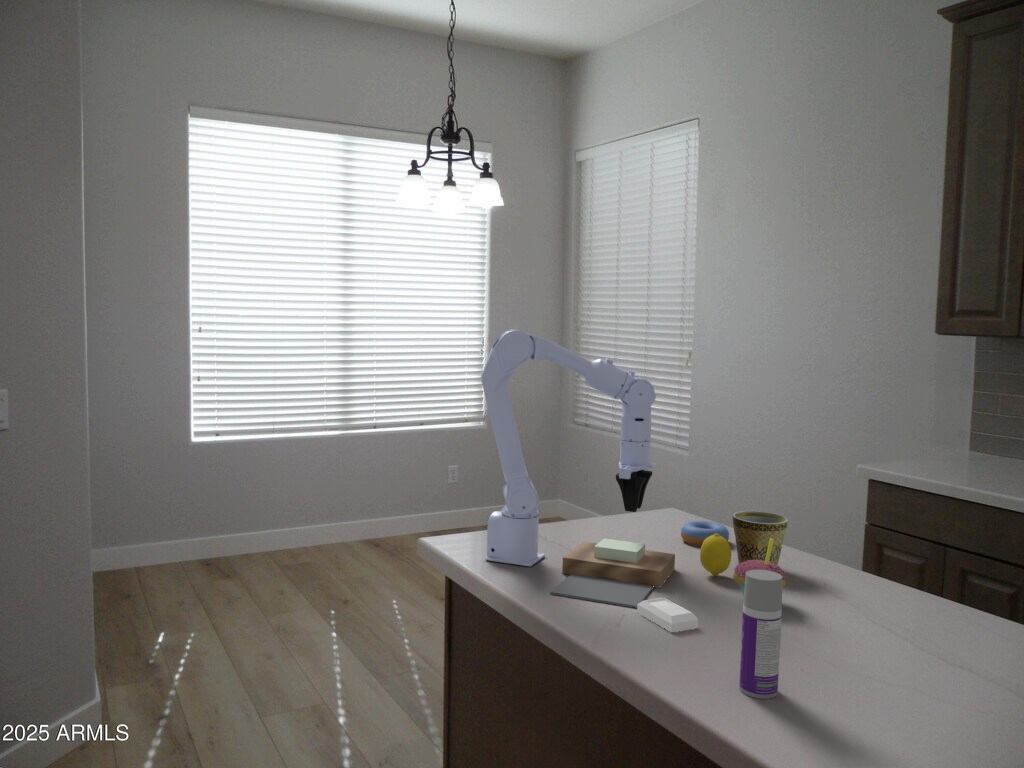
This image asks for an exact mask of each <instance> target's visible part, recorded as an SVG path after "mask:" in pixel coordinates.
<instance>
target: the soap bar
mask: <svg viewBox="0 0 1024 768" xmlns="http://www.w3.org/2000/svg"><path fill="white" fill-rule="evenodd" d="M636 609H637V610H636V613H637V614H638V613H639V614H638V615H640V616H641V615H642V617H643V616H644V617H643V618H645V617H646V618H645V619H647V618H648V619H649V620H648V619H647V620H648V621H650V620H651V621H650V622H652V621H653V622H655V623H656V624H655V623H654V624H655V625H657V624H658V625H660V626H661V627H660V626H659V627H660V628H662V627H663V628H662V629H664V628H665V629H666V630H665V629H664V630H665V631H667V630H668V631H667V632H669V631H670V632H674V633H680V632H685V630H686V631H691V630H696V629H695V628H697V629H698V627H699V618H698V617H697V616H696V615H695V614H694V613H693V612H692V611H690V610H688V609H686V608H685V607H682V606H680V605H678V604H677V603H674V602H673V601H671V600H669V599H667V598H665V597H664V596H662V597H655V598H652V599H651V598H650V599H644V600H643V601H642V602H640V603H639V604H637V608H636ZM653 622H652V623H653ZM658 625H657V626H658ZM690 629H691V630H690ZM679 631H680V632H679ZM670 632H669V633H670Z"/></svg>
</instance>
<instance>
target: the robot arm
mask: <svg viewBox="0 0 1024 768" xmlns="http://www.w3.org/2000/svg"><path fill="white" fill-rule="evenodd" d="M529 359H531V360H532V361H550V362H552V363H555V364H557V365H559V366H561V367H564V368H565V369H568V370H571V371H572V372H574V373H577V374H579V375H581V376H583V378H584V380H585V383H586V385H587V386H588V387H590V388H591V389H594V390H595V391H599V392H600V393H602V394H604V395H607V396H608V397H610V398H613V399H615V400H620V401H621V402H622V406H621V407H622V408H621V418H620V419H621V420H620V421H621V422H620V440H619V441H620V444H619V461H618V468H619V469H618V470H619V471H618V473H616V474H615V480H616V482H617V484H618V486H619V489H620V493H621V497H622V502H623V506H624V507H623V508H624V511H625V512H630V513H631V512H632V513H636V512H637V510H638V509H639V510H640V509H642V508H641V507H642V504H643V503H644V502H643V501H644V498H645V492H646V490H647V487H648V484H649V481H650V480H651V478H652V476H653V471H651V470H648V469H655V468H656V466H657V464H656V463H653V462H651V461H650V460H651V459H650V458H651V439H652V438H651V436H652V406H653V404H654V403H655V401H656V399H657V394H656V393H655V388H654V385H652V383H651V382H650V381H648V380H646V379H644V378H642V377H640V376H638V375H636V372H635V371H633V370H629V371H627V370H626V369H623V368H621V367H619V366H617V365H615V364H614V361H613V360H611V359H609V358H605V360H604V359H602V358H597V359H595V360H592V361H590V360H588V359H586V358H584V357H582V356H581V355H579V354H577V353H575V352H573V351H571V350H570V349H567V348H566V347H564V346H561V345H559V344H558V343H556V342H554V341H552V340H550V339H547V338H543V337H540V336H537V335H533V334H529V333H526V332H525V331H524V330H523V331H522V330H518V329H513V328H512V329H508V330H505V331H504V332H502V333H501V334H500V335H499V337H498V338H497V339H496V340H495V341H494V343H492V346H491V349H490V351H489V354H488V356H487V359H486V362H485V365H484V367H483V370H482V373H481V376H480V377H481V378H480V379H481V383H482V388H483V392H484V398H485V400H486V405H487V410H488V414H489V418H490V422H491V426H492V430H493V434H494V439H495V443H496V448H497V450H498V451H497V452H498V457H499V460H500V465H501V469H502V473H503V477H504V483H503V486H502V495H503V498H504V499H505V505H504V506H503V508H502V509H501V510H496V511H495V510H494V511H492V512H491V514H490V516H489V518H488V521H487V528H486V531H487V533H486V556H485V557H484V559H485V560H486V561H489V562H490V561H492V562H496V563H503V564H509V565H518V566H524V567H532V566H533V565H534V564H535V565H536V563H538V562H539V561H540V560H542V559H543V558H544V557H546V553H543V552H538V551H539V545H538V544H539V522H540V521H539V519H540V518H539V517H540V515H539V513H540V512H539V510H538V507H539V505H540V497H539V492H538V491H537V490H536V487H535V485H534V484H535V483H534V482H533V481H532V479H531V478H530V476H529V473H528V469H527V466H526V465H527V464H526V461H525V458H524V454H523V449H522V445H521V440H520V437H519V431H518V428H517V423H516V420H515V419H516V418H515V413H514V410H513V406H512V402H511V397H510V394H509V389H508V385H507V383H508V382H509V381H510V379H511V378H512V376H513V374H515V372H516V370H517V369H518V368H519V367H521V366H522V365H524V364H525V363H526V362H527V361H529Z"/></svg>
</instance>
